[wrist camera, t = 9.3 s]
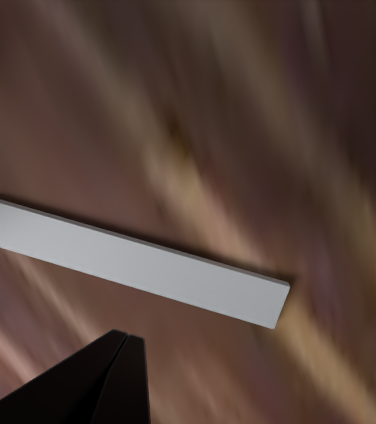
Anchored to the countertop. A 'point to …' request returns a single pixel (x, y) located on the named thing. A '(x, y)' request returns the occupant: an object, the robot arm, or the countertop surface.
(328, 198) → the countertop surface
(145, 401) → the robot arm
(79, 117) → the countertop surface
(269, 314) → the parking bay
